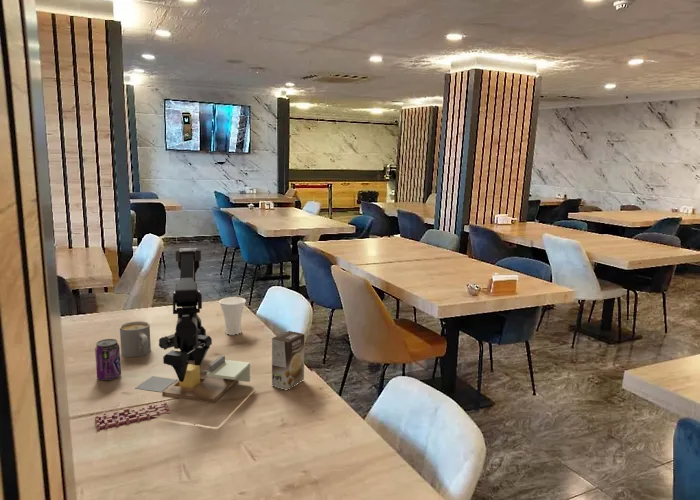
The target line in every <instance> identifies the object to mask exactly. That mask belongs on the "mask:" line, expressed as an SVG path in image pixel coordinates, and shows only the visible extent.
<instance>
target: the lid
mask: <svg viewBox="0 0 700 500" xmlns="http://www.w3.org/2000/svg"><path fill="white" fill-rule="evenodd" d="M208 371H209V372H207V373H206V376H211V377H218V378H223V379H231V380H238V381H237V382H239V381H240V382H246V383H250V382H251V362H246V361H239V360H230V359H226V356H225V355H223V354H221V355H220V356H219V357H217V358H216V359H214V360H212V362H211V363H210V364H208Z"/></svg>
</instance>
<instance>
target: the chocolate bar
mask: <svg viewBox="0 0 700 500" xmlns="http://www.w3.org/2000/svg"><path fill="white" fill-rule="evenodd" d="M167 404H168V403H167V402H166V401H163V402H162V403H160V405H158V404H157V403H153V404H151V403H150V404H148V406H147V405H143V406H142V407H141V408H137V407H133V408H131V412H130V407H126V408H123V410H121V411H118V412H117V411H113V413H108V414H107V412H103V414H102V415H103V416H102V415H98V414H97V415H95V423H96V430H98V431H103V430H106V429H111V428H116V427H121V426H125V425H129V424H135V423H140V422H144V421H148V420H152V419H153V420H154V419H159V418H158V417H160V416H161V415H163V414H169V415H170V413H171V412H170V408H169V405H167ZM138 409H139V410H138ZM159 409H160V410H159ZM151 412H152V413H151ZM153 412H155V413H153ZM150 413H151V414H150Z"/></svg>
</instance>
